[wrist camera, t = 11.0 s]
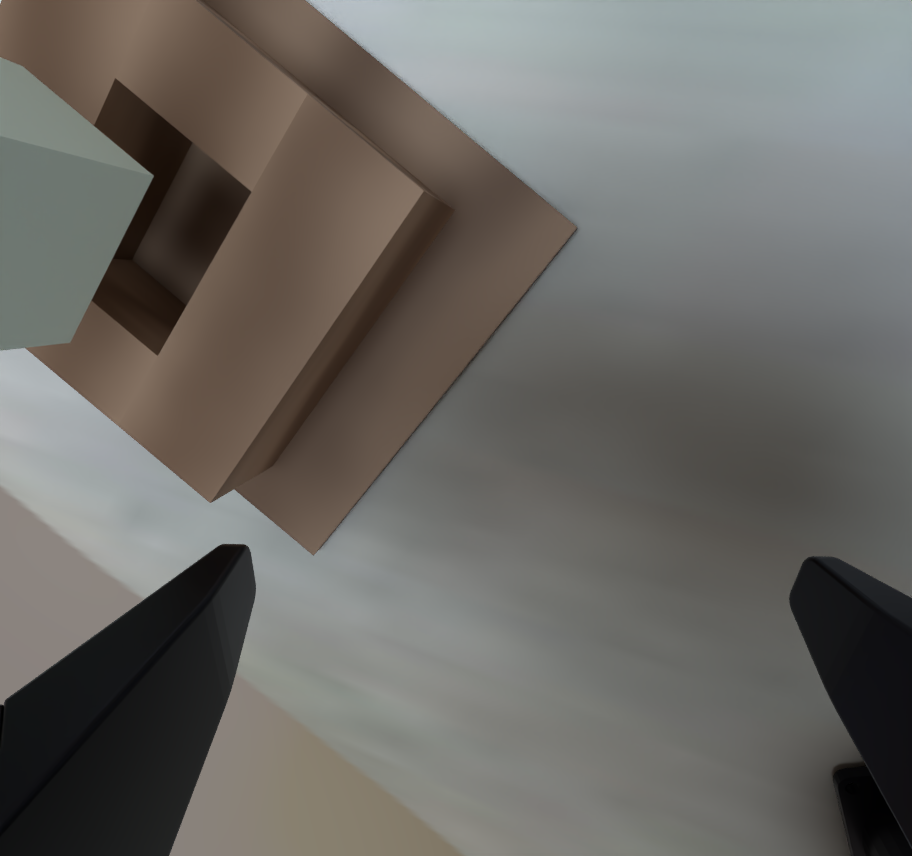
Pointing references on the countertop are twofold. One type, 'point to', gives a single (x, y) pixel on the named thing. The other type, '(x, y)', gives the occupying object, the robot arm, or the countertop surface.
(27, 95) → the stub
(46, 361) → the brown stepped stand
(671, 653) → the countertop surface
